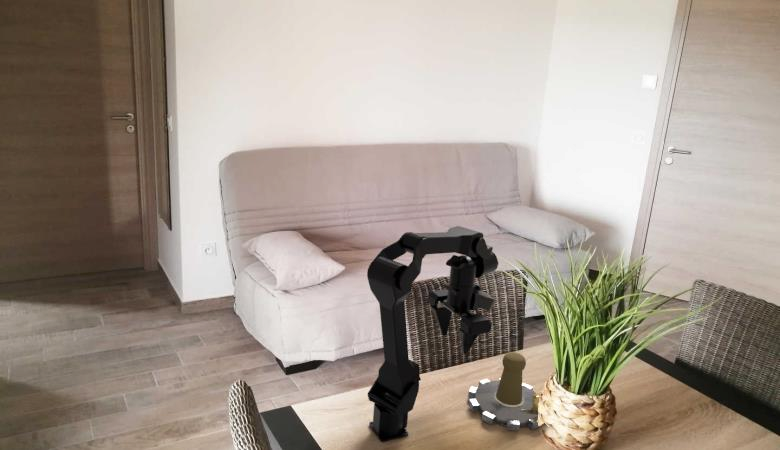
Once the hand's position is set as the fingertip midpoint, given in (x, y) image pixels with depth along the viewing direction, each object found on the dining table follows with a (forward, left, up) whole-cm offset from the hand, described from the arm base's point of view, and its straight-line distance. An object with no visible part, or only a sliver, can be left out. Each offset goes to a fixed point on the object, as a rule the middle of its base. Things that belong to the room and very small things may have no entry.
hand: (454, 344), depth 136 cm
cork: (+10, -10, -11) cm, 18 cm away
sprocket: (+10, -10, -13) cm, 19 cm away
